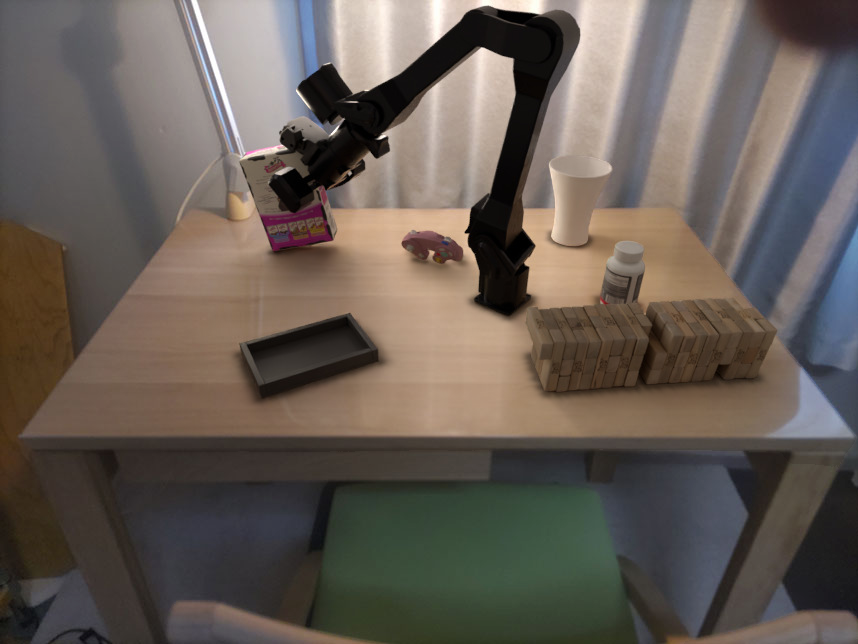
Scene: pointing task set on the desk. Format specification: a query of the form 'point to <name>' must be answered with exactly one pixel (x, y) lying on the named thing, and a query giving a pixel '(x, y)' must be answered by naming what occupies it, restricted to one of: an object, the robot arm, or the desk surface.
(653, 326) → the block tower
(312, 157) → the robot arm
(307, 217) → the candy bar box
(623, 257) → the pill bottle
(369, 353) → the tray
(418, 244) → the video game controller
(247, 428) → the desk surface
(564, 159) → the cup
